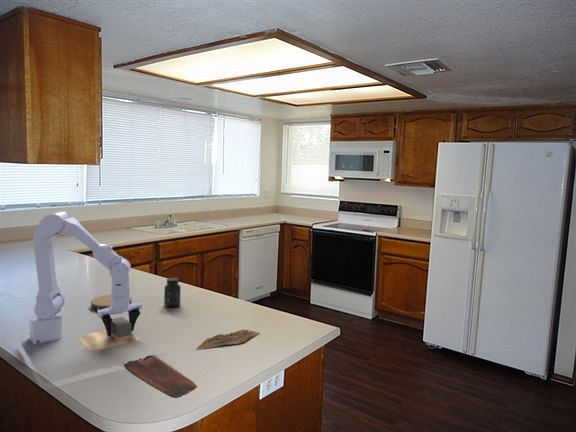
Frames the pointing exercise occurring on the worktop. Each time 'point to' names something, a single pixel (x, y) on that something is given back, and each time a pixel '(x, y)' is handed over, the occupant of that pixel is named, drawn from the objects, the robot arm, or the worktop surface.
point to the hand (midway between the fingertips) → (120, 332)
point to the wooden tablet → (162, 376)
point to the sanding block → (121, 328)
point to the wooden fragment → (227, 339)
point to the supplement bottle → (172, 293)
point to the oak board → (103, 340)
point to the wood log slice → (103, 302)
